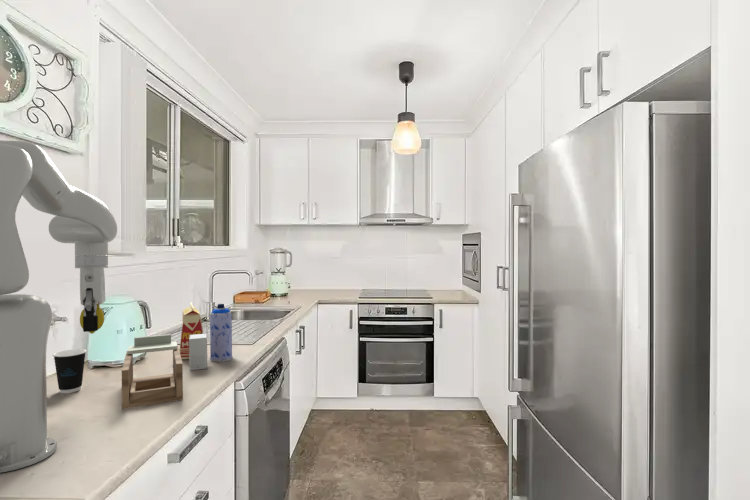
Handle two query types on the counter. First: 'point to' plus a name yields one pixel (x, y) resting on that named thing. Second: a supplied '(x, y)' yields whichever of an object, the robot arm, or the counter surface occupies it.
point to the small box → (198, 351)
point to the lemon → (99, 314)
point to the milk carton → (189, 329)
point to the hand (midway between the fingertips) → (92, 328)
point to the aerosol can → (220, 334)
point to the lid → (152, 344)
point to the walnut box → (151, 384)
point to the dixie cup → (69, 369)
